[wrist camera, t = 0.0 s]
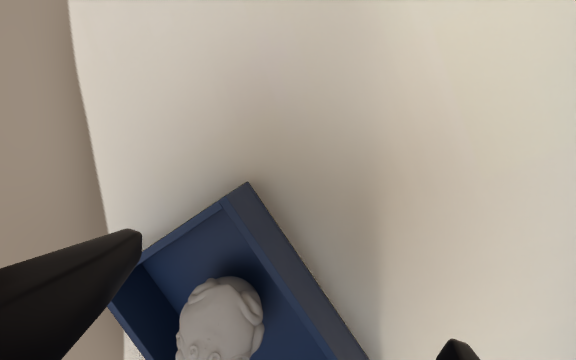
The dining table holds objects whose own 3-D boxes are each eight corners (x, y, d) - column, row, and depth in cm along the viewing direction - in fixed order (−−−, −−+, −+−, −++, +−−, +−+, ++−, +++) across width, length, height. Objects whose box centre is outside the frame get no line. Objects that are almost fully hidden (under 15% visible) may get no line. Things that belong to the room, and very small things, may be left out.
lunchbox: (135, 256, 28) (91, 285, 23) (248, 181, 25) (225, 195, 20) (261, 431, 29) (245, 496, 24) (381, 378, 26) (392, 438, 21)
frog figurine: (195, 322, 27) (147, 389, 20) (210, 247, 26) (163, 292, 19) (263, 345, 26) (237, 422, 20) (283, 269, 25) (262, 323, 18)
